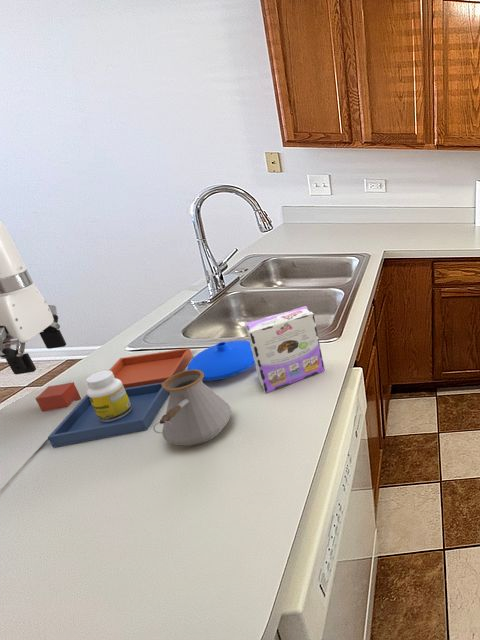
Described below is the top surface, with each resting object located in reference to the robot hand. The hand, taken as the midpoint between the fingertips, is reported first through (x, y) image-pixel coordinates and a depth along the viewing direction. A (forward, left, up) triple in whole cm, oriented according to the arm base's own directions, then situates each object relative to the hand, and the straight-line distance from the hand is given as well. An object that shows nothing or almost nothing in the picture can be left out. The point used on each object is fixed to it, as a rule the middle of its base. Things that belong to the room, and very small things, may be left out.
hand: (42, 359), depth 82 cm
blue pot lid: (+30, +5, -13) cm, 33 cm away
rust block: (-1, 0, -12) cm, 12 cm away
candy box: (+46, -4, -13) cm, 48 cm away
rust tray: (+12, +8, -12) cm, 19 cm away
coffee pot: (+31, -23, -13) cm, 41 cm away
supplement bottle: (+12, -7, -12) cm, 19 cm away
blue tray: (+12, -7, -12) cm, 19 cm away
